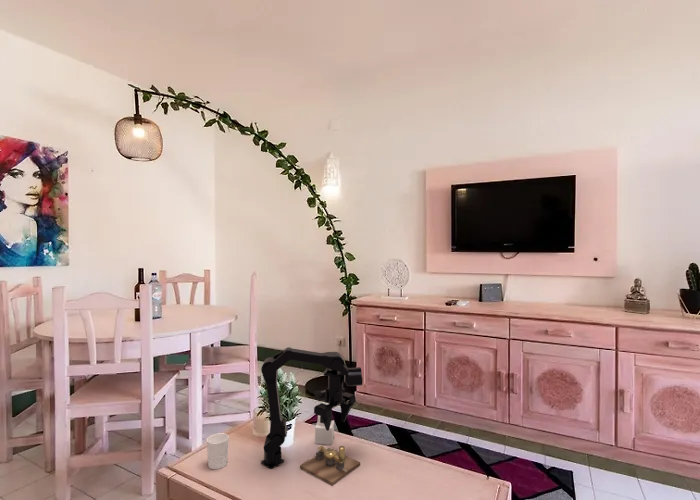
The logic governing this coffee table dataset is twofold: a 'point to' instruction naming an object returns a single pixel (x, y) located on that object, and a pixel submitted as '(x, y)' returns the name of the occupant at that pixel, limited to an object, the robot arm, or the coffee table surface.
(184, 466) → the coffee table surface
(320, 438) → the medicine bottle
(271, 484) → the coffee table surface
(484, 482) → the coffee table surface
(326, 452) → the crank handle
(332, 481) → the post base
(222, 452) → the white cup
